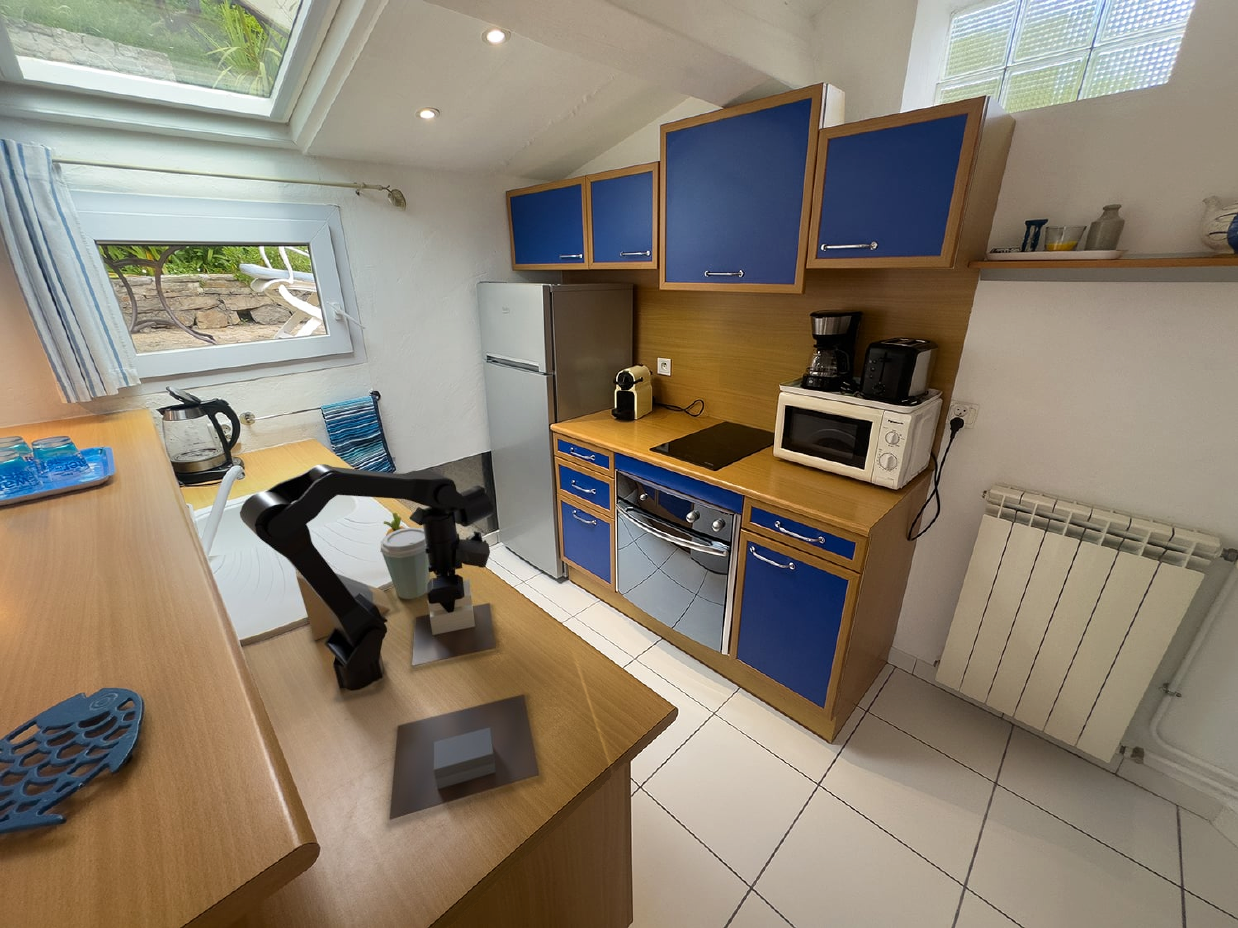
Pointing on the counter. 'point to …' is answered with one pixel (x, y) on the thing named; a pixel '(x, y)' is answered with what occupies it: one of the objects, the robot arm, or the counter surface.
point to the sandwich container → (320, 611)
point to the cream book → (459, 602)
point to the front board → (417, 738)
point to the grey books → (463, 758)
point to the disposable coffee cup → (407, 561)
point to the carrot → (394, 524)
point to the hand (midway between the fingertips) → (450, 602)
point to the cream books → (452, 619)
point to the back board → (453, 638)
